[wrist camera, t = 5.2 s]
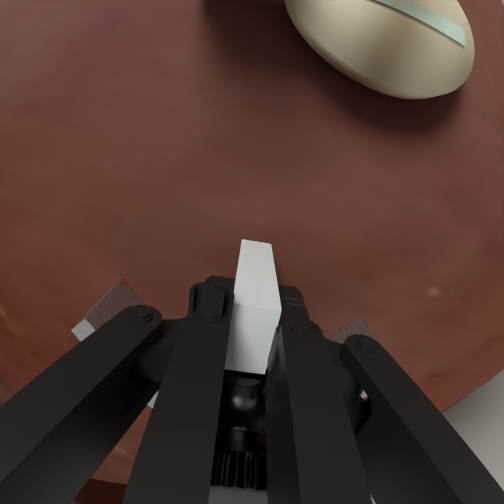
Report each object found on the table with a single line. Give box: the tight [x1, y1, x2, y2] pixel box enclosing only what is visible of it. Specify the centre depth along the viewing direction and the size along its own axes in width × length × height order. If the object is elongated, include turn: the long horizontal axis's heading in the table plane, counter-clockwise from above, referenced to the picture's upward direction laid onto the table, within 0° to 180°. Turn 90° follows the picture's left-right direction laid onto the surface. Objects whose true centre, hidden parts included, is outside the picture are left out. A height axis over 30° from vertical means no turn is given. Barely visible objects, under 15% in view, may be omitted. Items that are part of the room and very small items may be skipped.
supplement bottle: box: [208, 365, 268, 504], centre depth 12 cm, size 7×7×12 cm
